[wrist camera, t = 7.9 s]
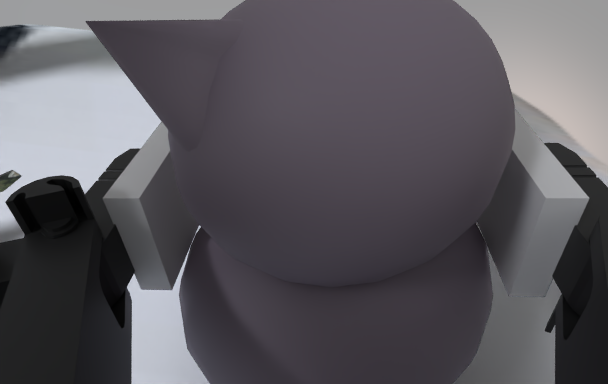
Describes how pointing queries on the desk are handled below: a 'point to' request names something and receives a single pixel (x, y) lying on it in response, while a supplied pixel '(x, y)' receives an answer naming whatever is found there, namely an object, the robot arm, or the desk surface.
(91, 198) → the robot arm
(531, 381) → the desk surface
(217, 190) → the cat figurine
